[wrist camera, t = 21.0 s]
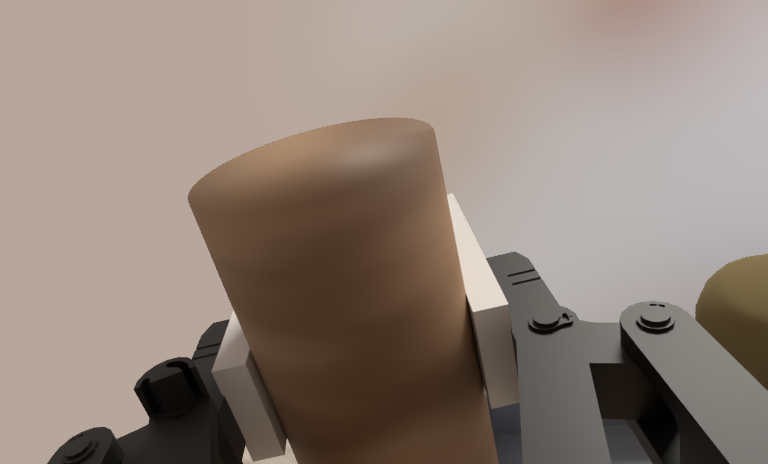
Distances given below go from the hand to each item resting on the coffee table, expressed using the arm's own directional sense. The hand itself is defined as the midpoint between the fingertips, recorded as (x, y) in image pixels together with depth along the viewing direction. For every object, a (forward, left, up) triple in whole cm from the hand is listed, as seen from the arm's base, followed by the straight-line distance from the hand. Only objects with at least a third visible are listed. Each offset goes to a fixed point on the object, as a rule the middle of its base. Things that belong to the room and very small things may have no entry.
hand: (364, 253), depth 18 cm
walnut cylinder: (+1, -5, -6) cm, 8 cm away
